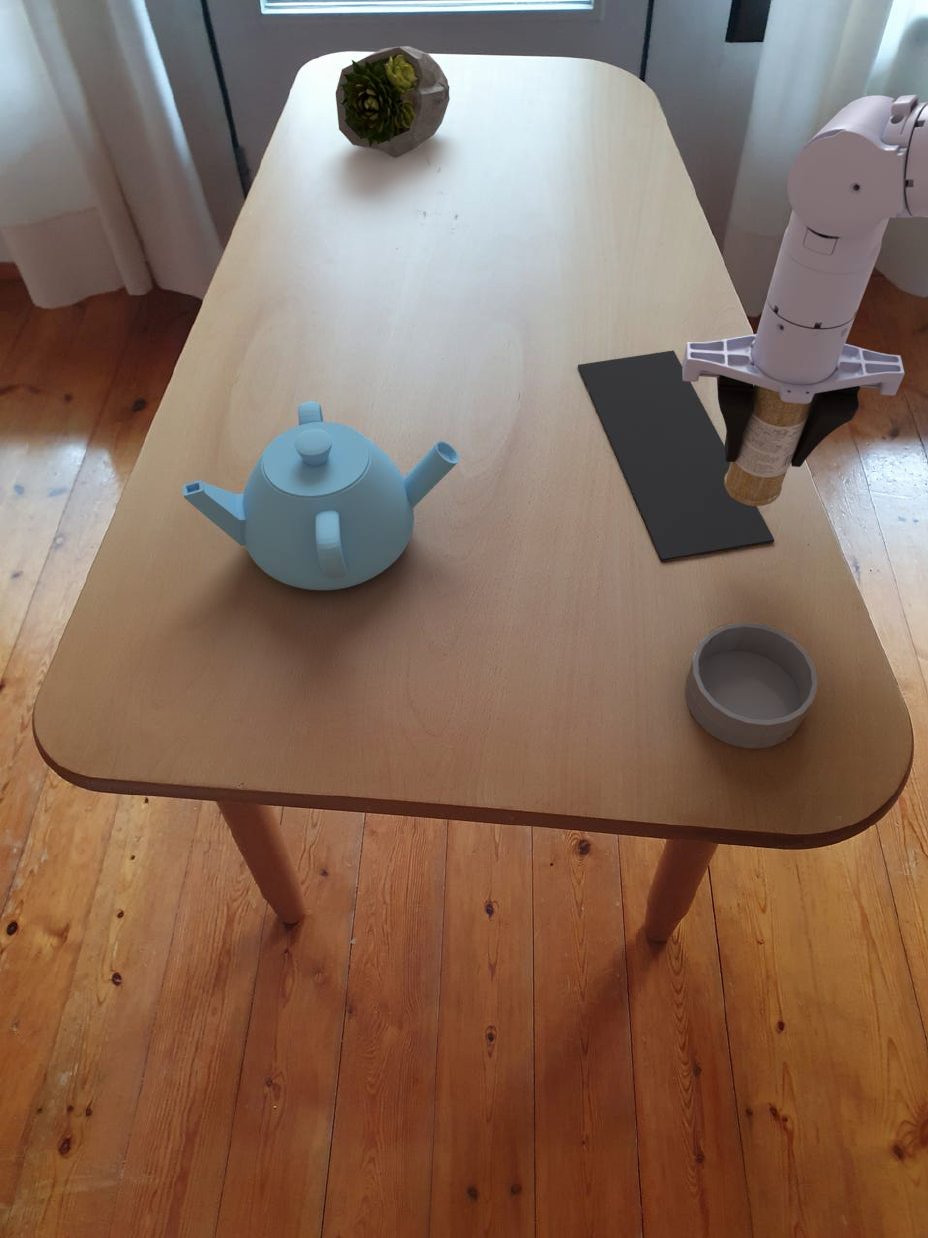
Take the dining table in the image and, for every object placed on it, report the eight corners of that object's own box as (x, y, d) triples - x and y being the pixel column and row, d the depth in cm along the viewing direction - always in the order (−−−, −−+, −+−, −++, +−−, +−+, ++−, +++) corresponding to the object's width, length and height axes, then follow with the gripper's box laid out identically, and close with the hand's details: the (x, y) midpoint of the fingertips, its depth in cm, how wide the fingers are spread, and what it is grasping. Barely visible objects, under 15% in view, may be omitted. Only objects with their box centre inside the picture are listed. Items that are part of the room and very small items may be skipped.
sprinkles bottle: (748, 459, 77) (792, 320, 66) (792, 490, 75) (845, 351, 64) (710, 485, 75) (749, 347, 64) (754, 518, 73) (802, 380, 62)
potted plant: (473, 104, 120) (435, 126, 109) (400, 165, 127) (358, 191, 116) (416, 13, 116) (371, 26, 105) (345, 82, 123) (295, 100, 112)
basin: (799, 654, 73) (811, 628, 70) (809, 754, 68) (823, 730, 65) (684, 644, 74) (692, 617, 71) (686, 742, 69) (694, 718, 66)
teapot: (373, 641, 75) (357, 548, 66) (202, 563, 80) (165, 467, 71) (467, 515, 83) (464, 416, 74) (305, 451, 88) (283, 352, 79)
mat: (773, 542, 80) (774, 539, 80) (661, 561, 79) (661, 559, 79) (673, 352, 95) (673, 350, 95) (577, 366, 94) (577, 364, 94)
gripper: (700, 333, 59) (666, 485, 70) (938, 348, 58) (866, 500, 69) (697, 267, 64) (665, 421, 75) (920, 280, 62) (854, 434, 73)
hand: (761, 455), depth 72 cm, fingers closed on sprinkles bottle, 4 cm apart
